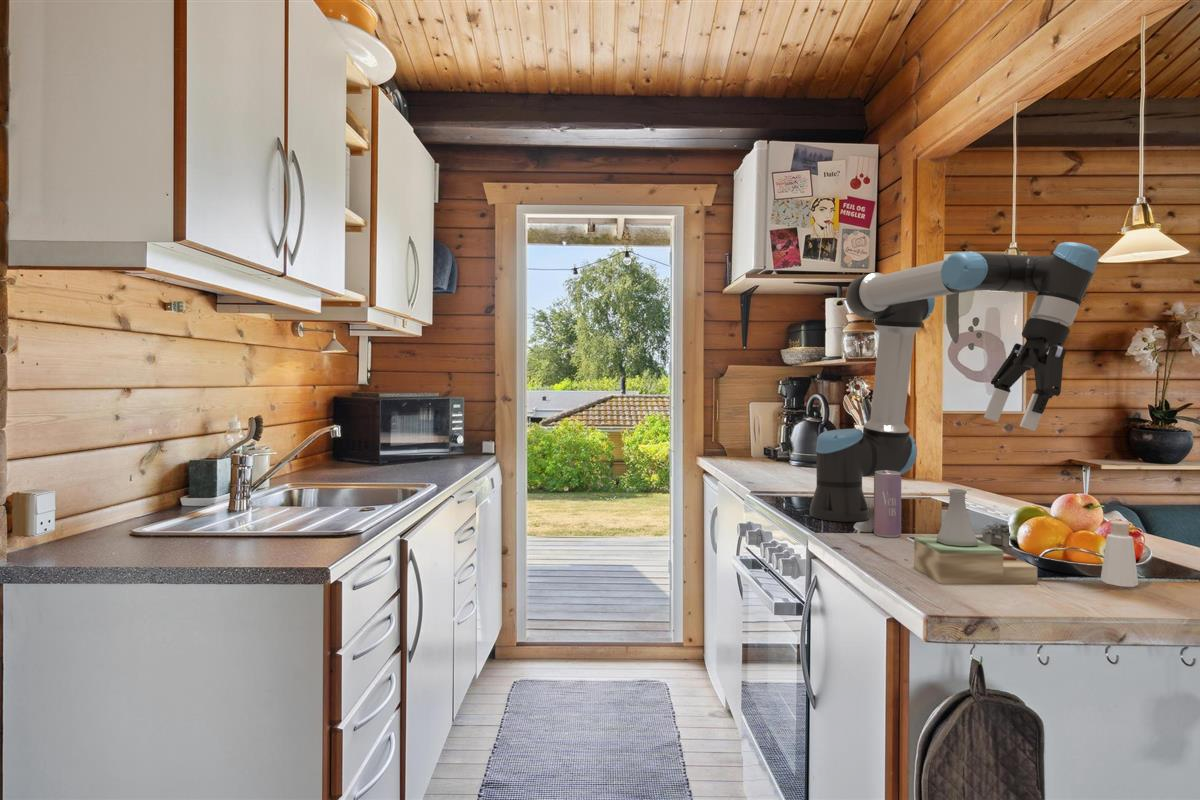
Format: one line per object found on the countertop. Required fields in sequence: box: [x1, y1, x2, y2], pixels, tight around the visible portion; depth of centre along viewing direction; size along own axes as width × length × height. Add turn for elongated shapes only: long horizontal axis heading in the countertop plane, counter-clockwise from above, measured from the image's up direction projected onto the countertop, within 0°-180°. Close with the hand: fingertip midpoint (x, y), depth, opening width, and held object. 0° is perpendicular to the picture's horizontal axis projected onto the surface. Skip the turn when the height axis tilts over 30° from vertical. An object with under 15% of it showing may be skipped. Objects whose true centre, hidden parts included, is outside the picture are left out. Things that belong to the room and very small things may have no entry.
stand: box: [913, 536, 1038, 585], centre depth 129 cm, size 11×17×6 cm, turn 89°
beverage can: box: [873, 471, 902, 539], centre depth 163 cm, size 6×6×15 cm
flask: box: [936, 488, 978, 546], centre depth 129 cm, size 7×7×10 cm
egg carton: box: [980, 521, 1010, 548], centre depth 157 cm, size 11×8×4 cm
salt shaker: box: [1100, 519, 1139, 588], centre depth 124 cm, size 5×5×11 cm
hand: (1008, 424), depth 138 cm, fingers open, 13 cm apart
